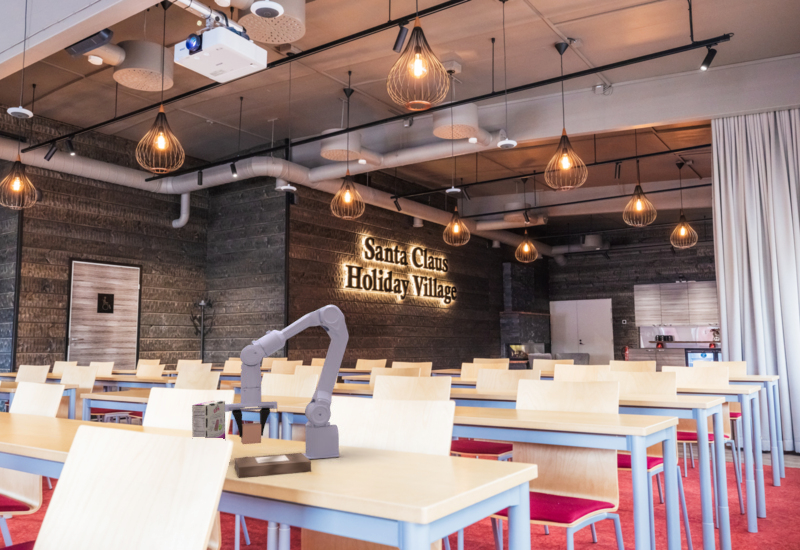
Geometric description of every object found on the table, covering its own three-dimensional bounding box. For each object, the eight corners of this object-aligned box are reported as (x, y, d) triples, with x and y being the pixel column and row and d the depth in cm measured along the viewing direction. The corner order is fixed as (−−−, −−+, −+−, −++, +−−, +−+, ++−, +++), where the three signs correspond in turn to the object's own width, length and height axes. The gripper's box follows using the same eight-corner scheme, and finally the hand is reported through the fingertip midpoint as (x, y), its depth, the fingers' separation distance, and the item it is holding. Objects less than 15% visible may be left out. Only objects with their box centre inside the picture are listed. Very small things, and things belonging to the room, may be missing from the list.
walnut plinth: (301, 462, 173) (301, 452, 173) (310, 471, 160) (310, 460, 160) (234, 467, 167) (234, 457, 167) (238, 477, 154) (239, 466, 154)
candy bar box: (210, 456, 186) (211, 400, 188) (225, 456, 185) (226, 400, 187) (190, 463, 175) (191, 404, 177) (207, 463, 174) (207, 404, 176)
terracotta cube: (259, 440, 179) (259, 422, 180) (261, 442, 174) (261, 424, 175) (241, 441, 177) (241, 423, 178) (242, 444, 173) (242, 425, 173)
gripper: (274, 385, 184) (275, 432, 182) (223, 387, 179) (223, 436, 177) (278, 386, 177) (278, 435, 176) (225, 389, 172) (225, 439, 171)
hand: (251, 436), depth 176 cm, fingers closed on terracotta cube, 5 cm apart
